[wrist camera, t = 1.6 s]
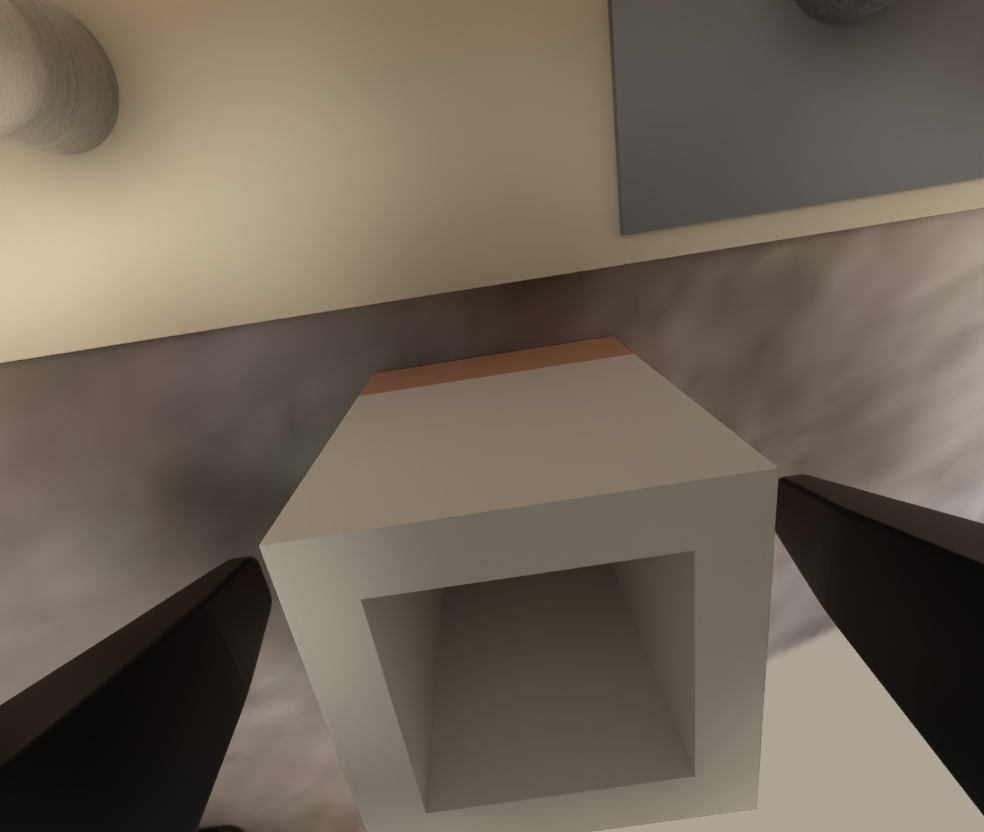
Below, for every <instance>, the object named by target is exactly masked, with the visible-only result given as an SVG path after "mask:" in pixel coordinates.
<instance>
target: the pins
mask: <svg viewBox="0 0 984 832" xmlns="http://www.w3.org/2000/svg"><path fill="white" fill-rule="evenodd" d="M795 1H796V3H797V4H798V5H799V7H800V8H801V9H802V10H803V11H804V12H805V13H806V14H808V15H809V16H811V17H812V18H814V19H816V20H818V21H820V22H824V23H828V24H847V23H851V22H855V21H857V20H860V19H863V18H865V17H867V16H868V15H870V14H872V13H874V12H876V11H878V10H880V9H882V8H884V7H885V6H887V5H889V4H891V3H893V2H895V1H897V0H795ZM118 110H119V89H118V84H117V79H116V76H115V72H114V69H113V67H112V64H111V62H110V60H109V58H108V56H107V54H106V52H105V50H104V49H103V47H102V46H101V44H100V43H99V41H98V40H97V39H96V37H95V36H94V35H93V34H92V32H91V31H90V30H89V29H88V28H87V27H86V26H85V25H84V24H83V23H82V22H80V21H79V20H78V19H77V18H75V17H74V16H73V15H71V14H70V13H68V12H67V11H65V10H63V9H61V8H60V7H58V6H56V5H54V4H52V3H50V2H48V1H46V0H0V143H1V144H7V145H12V146H18V147H24V148H30V149H35V150H41V151H47V152H53V153H58V154H70V155H71V154H80V153H84V152H87V151H90V150H92V149H94V148H95V147H97V146H99V145H100V144H101V143H102V142H103V141H104V140H105V139H106V138H107V137H108V136H109V134H110V133H111V131H112V129H113V127H114V125H115V122H116V119H117V115H118Z"/></svg>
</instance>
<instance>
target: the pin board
mask: <svg viewBox="0 0 984 832" xmlns="http://www.w3.org/2000/svg"><path fill="white" fill-rule="evenodd" d="M46 1H48V2H50V3H52V4H54V5H56V6H58V7H60V8H61V9H63V10H65V11H67V12H68V13H70V14H71V15H73V16H74V17H75V18H77V19H78V20H79V21H80V22H82V23H83V24H84V25H85V26H86V27H87V28H88V29H89V30H90V31H91V32H92V34H93V35H94V36H95V37H96V39H97V40H98V41H99V43H100V44H101V46H102V47H103V49H104V50H105V52H106V54H107V56H108V58H109V60H110V62H111V64H112V67H113V69H114V72H115V76H116V79H117V84H118V89H119V110H118V115H117V119H116V122H115V125H114V127H113V129H112V131H111V133H110V134H109V136H108V137H107V138H106V139H105V140H104V141H103V142H102V143H101V144H100V145H99V146H97V147H95V148H94V149H92V150H90V151H87V152H84V153H80V154H71V155H70V154H58V153H53V152H47V151H41V150H35V149H30V148H24V147H18V146H12V145H7V144H1V143H0V363H3V362H9V361H16V360H22V359H28V358H35V357H41V356H47V355H54V354H60V353H66V352H73V351H79V350H85V349H92V348H98V347H104V346H111V345H117V344H124V343H130V342H136V341H143V340H149V339H155V338H162V337H168V336H174V335H181V334H187V333H193V332H200V331H206V330H212V329H219V328H225V327H231V326H238V325H244V324H250V323H257V322H263V321H269V320H276V319H282V318H288V317H295V316H301V315H307V314H314V313H320V312H326V311H333V310H339V309H345V308H352V307H358V306H364V305H371V304H377V303H383V302H390V301H396V300H402V299H409V298H415V297H421V296H428V295H434V294H440V293H447V292H453V291H460V290H466V289H472V288H479V287H485V286H491V285H498V284H504V283H510V282H517V281H523V280H529V279H536V278H542V277H548V276H555V275H561V274H567V273H574V272H580V271H586V270H593V269H599V268H605V267H612V266H618V265H624V264H631V263H637V262H643V261H650V260H656V259H662V258H669V257H675V256H681V255H688V254H694V253H700V252H707V251H713V250H719V249H726V248H732V247H738V246H745V245H751V244H757V243H764V242H770V241H777V240H783V239H789V238H796V237H802V236H808V235H815V234H821V233H827V232H834V231H840V230H846V229H853V228H859V227H865V226H872V225H878V224H884V223H891V222H897V221H903V220H910V219H916V218H922V217H929V216H935V215H941V214H948V213H954V212H960V211H967V210H973V209H979V208H984V0H897V1H895V2H893V3H891V4H889V5H887V6H885V7H884V8H882V9H880V10H878V11H876V12H874V13H872V14H870V15H868V16H867V17H865V18H863V19H860V20H857V21H855V22H851V23H847V24H828V23H824V22H820V21H818V20H816V19H814V18H812V17H811V16H809V15H808V14H806V13H805V12H804V11H803V10H802V9H801V8H800V7H799V5H798V4H797V3H796V1H795V0H46Z"/></svg>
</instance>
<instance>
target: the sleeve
mask: <svg viewBox="0 0 984 832" xmlns="http://www.w3.org/2000/svg"><path fill="white" fill-rule="evenodd" d="M778 474H779V468H778V467H777V466H776V465H774V464H773V463H772V462H771V461H769V460H768V459H767V458H766V457H764V456H763V455H762V454H761V453H759V452H758V451H757V450H755V449H754V448H753V447H752V446H750V445H749V444H748V443H747V442H745V441H744V440H743V439H742V438H740V437H739V436H738V435H737V434H735V433H734V432H733V431H731V430H730V429H729V428H728V427H726V426H725V425H724V424H723V423H721V422H720V421H719V420H718V419H716V418H715V417H714V416H712V415H711V414H710V413H709V412H707V411H706V410H705V409H704V408H702V407H701V406H700V405H699V404H697V403H696V402H695V401H694V400H692V399H691V398H690V397H688V396H687V395H686V394H685V393H683V392H682V391H681V390H680V389H678V388H677V387H676V386H675V385H673V384H672V383H671V382H669V381H668V380H667V379H666V378H664V377H663V376H662V375H661V374H659V373H658V372H657V371H656V370H654V369H653V368H652V367H651V366H649V365H648V364H647V363H645V362H644V361H643V360H642V359H640V358H639V357H638V356H637V355H635V354H634V353H633V352H632V351H630V350H629V349H628V348H626V347H625V346H624V345H623V344H621V343H620V342H619V341H618V340H616V339H615V338H614V337H613V336H611V337H604V338H598V339H591V340H585V341H578V342H572V343H565V344H559V345H553V346H546V347H540V348H533V349H527V350H520V351H514V352H507V353H501V354H495V355H488V356H482V357H475V358H469V359H462V360H456V361H449V362H443V363H437V364H430V365H424V366H417V367H411V368H404V369H398V370H391V371H385V372H379V373H373V375H372V376H371V378H370V379H369V381H368V382H367V384H366V385H365V387H364V388H363V390H362V391H361V393H360V394H359V396H358V397H357V399H356V400H355V402H354V403H353V405H352V406H351V408H350V409H349V411H348V412H347V414H346V415H345V417H344V418H343V420H342V421H341V423H340V424H339V426H338V427H337V429H336V430H335V432H334V433H333V435H332V436H331V438H330V439H329V441H328V442H327V444H326V445H325V447H324V448H323V450H322V451H321V453H320V454H319V456H318V457H317V459H316V460H315V462H314V463H313V465H312V466H311V468H310V469H309V471H308V472H307V474H306V475H305V477H304V478H303V480H302V481H301V483H300V484H299V486H298V487H297V489H296V490H295V492H294V493H293V495H292V496H291V498H290V499H289V501H288V502H287V504H286V505H285V507H284V508H283V510H282V511H281V513H280V514H279V516H278V517H277V519H276V520H275V522H274V523H273V525H272V526H271V528H270V529H269V531H268V532H267V534H266V535H265V537H264V538H263V540H262V541H261V543H260V544H259V548H260V551H261V553H262V556H263V559H264V561H265V564H266V566H267V569H268V572H269V574H270V577H271V580H272V582H273V585H274V588H275V590H276V593H277V596H278V598H279V601H280V603H281V606H282V609H283V611H284V614H285V617H286V619H287V622H288V625H289V627H290V630H291V632H292V635H293V638H294V640H295V643H296V646H297V648H298V651H299V654H300V656H301V659H302V662H303V664H304V667H305V669H306V672H307V675H308V677H309V680H310V683H311V685H312V688H313V691H314V693H315V696H316V698H317V701H318V704H319V706H320V709H321V712H322V714H323V717H324V720H325V722H326V725H327V728H328V730H329V733H330V735H331V738H332V741H333V743H334V746H335V749H336V751H337V754H338V757H339V759H340V762H341V764H342V767H343V770H344V772H345V775H346V778H347V780H348V783H349V786H350V788H351V791H352V794H353V796H354V799H355V801H356V804H357V807H358V809H359V812H360V815H361V817H362V820H363V823H364V825H365V828H366V830H367V832H591V831H598V830H606V829H613V828H620V827H628V826H635V825H642V824H649V823H657V822H664V821H672V820H679V819H686V818H693V817H701V816H708V815H715V814H722V813H730V812H737V811H745V810H752V809H757V798H758V783H759V768H760V753H761V737H762V721H763V706H764V691H765V674H766V660H767V644H768V629H769V613H770V598H771V582H772V567H773V551H774V536H775V521H776V505H777V490H778Z"/></svg>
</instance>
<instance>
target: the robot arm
mask: <svg viewBox="0 0 984 832" xmlns="http://www.w3.org/2000/svg"><path fill="white" fill-rule="evenodd" d="M775 531H776V533H777V535H778V537H779V538H780V540H781V542H782V543H783V545H784V547H785V548H786V550H787V551H788V553H789V555H790V556H791V558H792V559H793V561H794V563H795V564H796V566H797V567H798V569H799V571H800V572H801V574H802V575H803V577H804V579H805V580H806V582H807V583H808V585H809V587H810V588H811V590H812V591H813V593H814V595H815V596H816V598H817V599H818V601H819V602H820V604H821V605H822V607H823V608H824V610H825V611H826V612H827V614H828V615H829V617H830V618H831V619H832V621H833V622H834V623H835V625H836V626H837V627H838V628H839V630H840V631H841V632H842V634H843V635H844V636H845V637H846V639H847V640H848V641H849V643H850V644H851V645H852V646H853V648H854V649H855V650H856V652H857V653H858V654H859V655H860V657H861V658H862V659H863V661H864V662H865V663H866V665H867V666H868V667H869V668H870V670H871V671H872V672H873V674H874V675H875V676H876V677H877V679H878V680H879V681H880V683H881V684H882V685H883V687H884V688H885V689H886V690H887V692H888V693H889V694H890V696H891V697H892V698H893V699H894V701H895V702H896V703H897V704H898V706H899V707H900V708H901V710H902V711H903V712H904V714H905V715H906V716H907V717H908V719H909V720H910V721H911V723H912V724H913V725H914V727H915V728H916V729H917V730H918V731H919V733H920V734H921V736H922V737H923V738H924V739H925V740H926V742H927V743H928V745H929V746H930V747H931V748H932V750H933V751H934V752H935V754H936V755H937V756H938V757H939V759H940V760H941V761H942V763H943V764H944V765H945V767H946V768H947V769H948V770H949V772H950V773H951V774H952V775H953V777H954V778H955V779H956V780H957V782H958V783H959V785H960V786H961V787H962V788H963V790H964V791H965V792H966V793H967V795H968V796H969V797H970V799H971V800H972V801H973V802H974V804H975V805H976V806H977V808H978V809H979V810H980V812H981V813H982V814H983V816H984V524H983V523H979V522H976V521H972V520H968V519H965V518H961V517H957V516H954V515H950V514H947V513H943V512H939V511H936V510H932V509H928V508H925V507H921V506H918V505H914V504H910V503H907V502H903V501H899V500H896V499H892V498H889V497H885V496H881V495H878V494H874V493H871V492H867V491H863V490H860V489H856V488H852V487H849V486H845V485H842V484H838V483H834V482H831V481H827V480H823V479H820V478H816V477H813V476H809V475H805V474H799V475H792V476H786V477H781V478H779V479H778V490H777V505H776V521H775ZM271 604H272V598H271V593H270V590H269V588H268V585H267V582H266V580H265V577H264V575H263V572H262V569H261V567H260V564H259V562H258V561H257V559H256V558H254V557H252V556H248V557H241V558H234V559H230V560H227V561H226V562H224V563H222V564H221V565H219V566H218V567H216V568H215V569H213V570H212V571H210V572H208V573H207V574H205V575H204V576H202V577H201V578H199V579H197V580H196V581H194V582H193V583H191V584H190V585H188V586H186V587H185V588H183V589H182V590H180V591H179V592H177V593H175V594H174V595H172V596H171V597H169V598H168V599H166V600H165V601H163V602H161V603H160V604H158V605H157V606H155V607H154V608H152V609H150V610H149V611H147V612H146V613H144V614H143V615H141V616H139V617H138V618H136V619H135V620H133V621H132V622H130V623H129V624H127V625H125V626H124V627H122V628H121V629H119V630H118V631H116V632H114V633H113V634H111V635H110V636H108V637H107V638H105V639H103V640H102V641H100V642H99V643H97V644H96V645H94V646H92V647H91V648H89V649H88V650H86V651H85V652H83V653H82V654H80V655H78V656H77V657H75V658H74V659H72V660H71V661H69V662H67V663H66V664H64V665H63V666H61V667H60V668H58V669H56V670H55V671H53V672H52V673H50V674H49V675H47V676H45V677H44V678H42V679H41V680H39V681H38V682H36V683H35V684H33V685H31V686H30V687H28V688H27V689H25V690H24V691H22V692H20V693H19V694H17V695H16V696H14V697H13V698H11V699H9V700H8V701H6V702H5V703H3V704H2V705H0V832H196V831H197V829H198V826H199V824H200V821H201V818H202V816H203V813H204V810H205V808H206V805H207V802H208V800H209V797H210V794H211V792H212V789H213V786H214V784H215V781H216V778H217V776H218V773H219V770H220V768H221V765H222V762H223V760H224V757H225V754H226V752H227V749H228V746H229V744H230V741H231V738H232V736H233V733H234V730H235V728H236V725H237V722H238V720H239V717H240V714H241V712H242V709H243V706H244V703H245V701H246V698H247V695H248V692H249V689H250V685H251V682H252V679H253V675H254V671H255V667H256V663H257V660H258V656H259V652H260V648H261V644H262V641H263V637H264V633H265V629H266V626H267V622H268V618H269V614H270V610H271Z"/></svg>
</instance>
